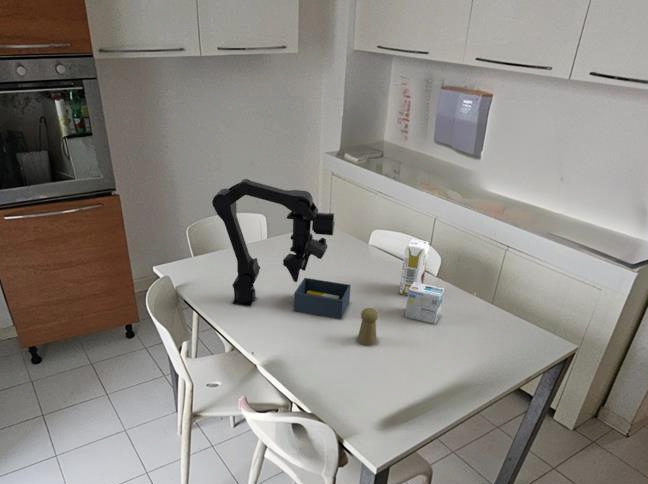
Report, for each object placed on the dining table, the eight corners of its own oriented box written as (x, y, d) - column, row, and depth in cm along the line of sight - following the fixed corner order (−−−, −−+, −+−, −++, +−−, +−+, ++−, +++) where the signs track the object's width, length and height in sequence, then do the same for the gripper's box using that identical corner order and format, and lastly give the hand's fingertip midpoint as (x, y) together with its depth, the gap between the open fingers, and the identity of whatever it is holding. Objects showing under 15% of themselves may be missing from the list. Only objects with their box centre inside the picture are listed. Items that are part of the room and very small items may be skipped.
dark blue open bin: (293, 311, 180) (294, 292, 176) (304, 295, 190) (304, 277, 186) (341, 319, 176) (342, 301, 172) (349, 302, 186) (350, 284, 182)
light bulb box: (439, 315, 180) (445, 287, 174) (435, 324, 175) (440, 296, 169) (409, 308, 183) (413, 280, 178) (404, 317, 178) (408, 288, 172)
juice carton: (397, 294, 192) (404, 245, 182) (403, 284, 199) (409, 237, 188) (418, 298, 190) (426, 249, 179) (422, 288, 196) (430, 240, 186)
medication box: (340, 306, 182) (341, 296, 180) (338, 309, 180) (339, 298, 178) (307, 300, 185) (308, 289, 183) (305, 302, 183) (305, 292, 181)
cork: (364, 347, 162) (367, 317, 156) (353, 338, 166) (356, 308, 160) (380, 343, 164) (383, 312, 158) (369, 333, 169) (372, 303, 163)
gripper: (317, 246, 159) (315, 292, 167) (332, 225, 174) (329, 268, 182) (283, 241, 161) (282, 286, 170) (300, 221, 176) (299, 263, 185)
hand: (299, 275), depth 177 cm, fingers open, 9 cm apart
